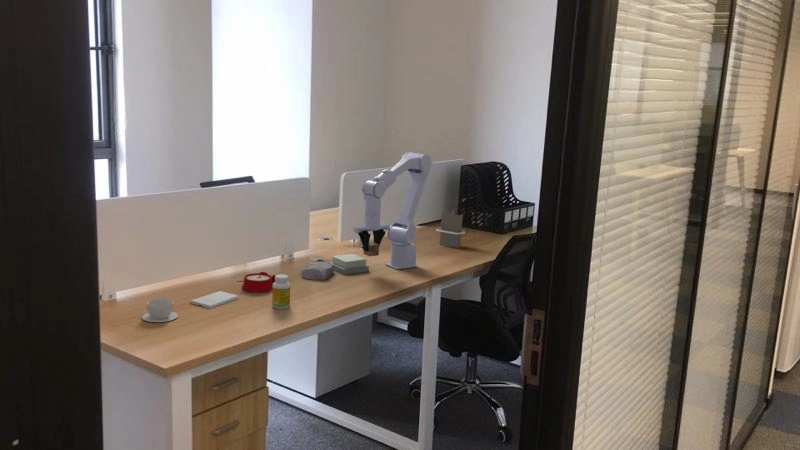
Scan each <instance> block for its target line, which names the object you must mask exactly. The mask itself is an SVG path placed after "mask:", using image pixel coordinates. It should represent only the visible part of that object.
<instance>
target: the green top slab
mask: <svg viewBox="0 0 800 450" xmlns="http://www.w3.org/2000/svg"><path fill="white" fill-rule="evenodd" d="M331 262H332V263H334V264H336V265H339V266H341V267H343V268H345V269H346V268H353V267H360V266H366V265H367V259H366V258H364V257H361V256H359V255H357V254H354V253H349V254H339V255H333V256H332V261H331Z"/></svg>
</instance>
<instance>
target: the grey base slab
mask: <svg viewBox="0 0 800 450" xmlns="http://www.w3.org/2000/svg"><path fill="white" fill-rule="evenodd" d="M332 262H333V261H329V262H327V264H331V265H332V264H333V266H334V267H333V269H334V270H333V271H334V272H336V273H339V274H342V275H350V274H357V273H364V272H365V273H366V272H369V271H370V266H369V265H367V264H366V266H360V267H353V268H346V269H345V268H343V267H341V266H339V265H336V264H334V263H332Z"/></svg>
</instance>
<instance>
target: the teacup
mask: <svg viewBox="0 0 800 450" xmlns="http://www.w3.org/2000/svg"><path fill="white" fill-rule="evenodd" d="M145 305H146V310H147V313H144V314H143V315H141V319H142V320H144V321H146V322H150V323H166V322H170V321H173V320H175V319H177V318H178V317H179V314H178V313H176V312H174V311H173V310H174V300H172V299H170V298H169V299H168V298H155V299H150V300H148V301H147V302H146V303H145Z"/></svg>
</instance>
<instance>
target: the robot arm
mask: <svg viewBox="0 0 800 450" xmlns="http://www.w3.org/2000/svg"><path fill="white" fill-rule="evenodd" d="M432 165H433V162H432V159H431V156H430V155H429V154H427V153H417V152H411V151H406V152H405V153H404V154H402V155H401V159H400V160H399V161H398V162H397V163H396V164H395V165H393V167H392V168H391V169H382V170H381V173H379V174H378V175H376V176H374V178H372V179H369V180H367V181H365V182H364V183H363V186H362V187H361V191H362V195H363V200H364V216H363V217H364V222H363V224H362V225H358V226H353V233H356V234H357V235H358V236H359V238H360V239H359V240H360V242H361V246H362V251H363V252H364V251H366V252H368V249H369V243H370V240H371V237H372V236H373V238H372V239H373V243H376V244H379V247H380V246H381V243H382V240H383V238H384V237H385V235H386V236H387V239H388V240H389V243H390V262H388V263H387V262H386V263H385V265H386V266H388V267H390V268H393V269H396V270H401V269H402V270H403V269H410V268H415V267H416V268H417V264H416V261H417V260H416V259H417V248H416V247H417V246H416V245H415V243H414V242H415V239H416V231H417V226H416V224H415V223H414V222H413V221H414V218H415V215H416V212H417V210H418V206H419V204H420V201H421V198H422V195H423V191H424V190H425V189H424V188H425V186H426V183H427V180H428V177H429V174H430V172H431V169H432ZM405 172H407V174H408V175H409V176H411V181H410V183H409V187H408V189H407V193H406V196H405V199H404V202H403V205H402V207H401V211H400V213H399V216H398V217H396V218H394V219H393V220H392V222H391V224H388V223H381V211H382V210H381V209H382V208H381V207H382V197H384V195H385V193H386V191H387V190H388V188H390V187H391V186H392V185H393V184H395V182H396V181H397V177H399V176H400V175H402V174H403V173H405ZM386 230H387V232H386ZM369 232H372V234H371V233H369Z"/></svg>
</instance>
